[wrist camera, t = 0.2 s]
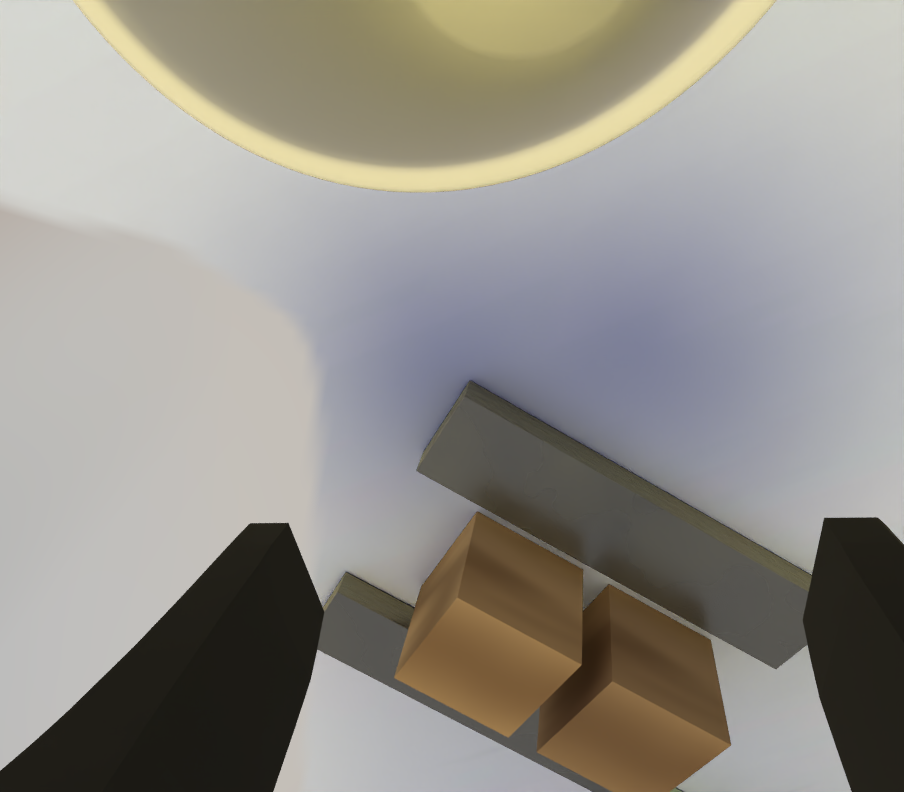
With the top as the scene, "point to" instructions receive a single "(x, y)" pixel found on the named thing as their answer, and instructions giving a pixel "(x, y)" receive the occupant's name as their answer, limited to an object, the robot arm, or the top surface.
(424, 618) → the block
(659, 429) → the top surface
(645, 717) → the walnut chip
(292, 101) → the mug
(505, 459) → the slot rails
